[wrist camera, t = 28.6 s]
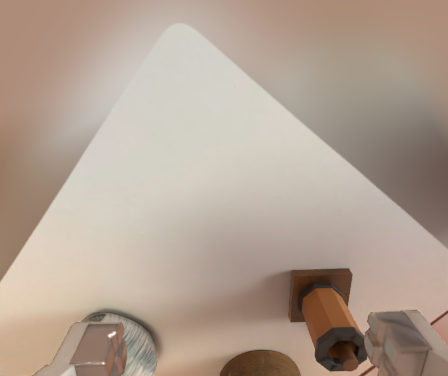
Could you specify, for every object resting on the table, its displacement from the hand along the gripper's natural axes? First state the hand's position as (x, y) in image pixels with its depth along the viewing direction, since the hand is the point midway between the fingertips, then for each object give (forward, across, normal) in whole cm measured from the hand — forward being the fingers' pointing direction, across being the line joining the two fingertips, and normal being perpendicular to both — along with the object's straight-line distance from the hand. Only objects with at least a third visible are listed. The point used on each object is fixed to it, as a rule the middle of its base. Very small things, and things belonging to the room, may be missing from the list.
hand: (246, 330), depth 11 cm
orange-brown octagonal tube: (+33, -15, +27) cm, 45 cm away
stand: (+34, -15, +27) cm, 46 cm away
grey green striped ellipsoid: (+34, +17, +33) cm, 51 cm away
